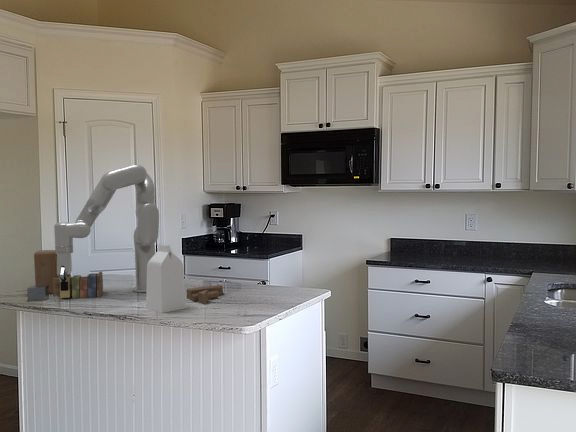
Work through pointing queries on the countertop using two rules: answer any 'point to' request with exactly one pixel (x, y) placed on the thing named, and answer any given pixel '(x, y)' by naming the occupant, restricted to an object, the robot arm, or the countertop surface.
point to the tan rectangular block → (67, 293)
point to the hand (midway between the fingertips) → (66, 288)
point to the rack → (83, 286)
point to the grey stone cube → (38, 292)
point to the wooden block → (45, 268)
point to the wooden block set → (204, 293)
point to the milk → (165, 281)
